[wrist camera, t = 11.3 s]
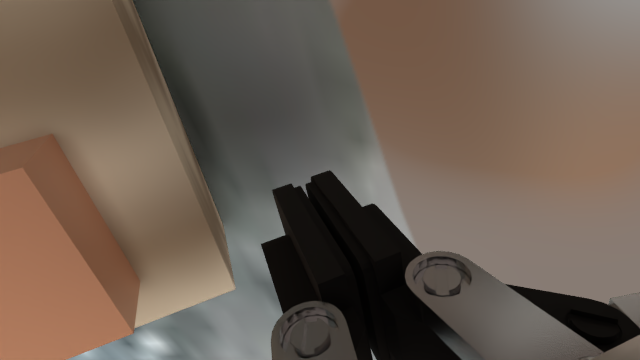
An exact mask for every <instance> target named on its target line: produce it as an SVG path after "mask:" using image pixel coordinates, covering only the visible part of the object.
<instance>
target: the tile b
mask: <svg viewBox="0 0 640 360" xmlns="http://www.w3.org/2000/svg"><path fill="white" fill-rule="evenodd" d="M139 288H140V280H139V278H138V276H137V275H136V273H135V271H134V270H133V268H132V266H131V265H130V263H129V261H128V260H127V258H126V256H125V255H124V253H123V251H122V250H121V248H120V246H119V245H118V243H117V241H116V240H115V238H114V236H113V234H112V233H111V231H110V229H109V228H108V226H107V224H106V223H105V221H104V219H103V218H102V216H101V214H100V213H99V211H98V209H97V208H96V206H95V204H94V203H93V201H92V199H91V198H90V196H89V194H88V193H87V191H86V189H85V188H84V186H83V184H82V182H81V181H80V179H79V177H78V176H77V174H76V172H75V171H74V169H73V167H72V166H71V164H70V162H69V161H68V159H67V157H66V156H65V154H64V152H63V151H62V149H61V147H60V146H59V144H58V142H57V141H56V139H55V137H54V135H53V134H49V135H46V136H42V137H38V138H35V139H31V140H28V141H24V142H21V143H17V144H13V145H10V146H6V147H3V148H0V360H66V359H69V358H71V357H74V356H76V355H79V354H81V353H84V352H87V351H89V350H92V349H94V348H97V347H99V346H102V345H105V344H107V343H110V342H112V341H115V340H118V339H120V338H123V337H125V336H128V335H130V334H133V333H134V327H135V319H136V312H137V304H138V296H139Z"/></svg>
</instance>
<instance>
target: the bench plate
mask: <svg viewBox="0 0 640 360" xmlns="http://www.w3.org/2000/svg"><path fill="white" fill-rule="evenodd" d="M49 134H53V135H54V137H55V139H56V141H57V142H58V144H59V146H60V147H61V149H62V151H63V152H64V154H65V156H66V157H67V159H68V161H69V162H70V164H71V166H72V167H73V169H74V171H75V172H76V174H77V176H78V177H79V179H80V181H81V182H82V184H83V186H84V188H85V189H86V191H87V193H88V194H89V196H90V198H91V199H92V201H93V203H94V204H95V206H96V208H97V209H98V211H99V213H100V214H101V216H102V218H103V219H104V221H105V223H106V224H107V226H108V228H109V229H110V231H111V233H112V234H113V236H114V238H115V240H116V241H117V243H118V245H119V246H120V248H121V250H122V251H123V253H124V255H125V256H126V258H127V260H128V261H129V263H130V265H131V266H132V268H133V270H134V271H135V273H136V275H137V276H138V278H139V280H140V288H139V296H138V304H137V312H136V319H135V327H134V328H136V327H139V326H141V325H144V324H147V323H149V322H152V321H154V320H157V319H159V318H162V317H165V316H167V315H170V314H172V313H175V312H178V311H180V310H183V309H185V308H188V307H191V306H193V305H196V304H198V303H201V302H204V301H206V300H209V299H211V298H214V297H216V296H219V295H222V294H224V293H227V292H229V291H232V290H235V289H236V288H235V283H234V278H233V273H232V268H231V262H230V257H229V252H228V247H227V242H226V237H225V232H224V226H223V223H222V221H221V218H220V216H219V213H218V211H217V208H216V206H215V203H214V201H213V199H212V196H211V194H210V191H209V189H208V186H207V184H206V181H205V179H204V176H203V174H202V171H201V169H200V166H199V164H198V161H197V159H196V156H195V154H194V151H193V149H192V146H191V144H190V141H189V139H188V137H187V134H186V132H185V129H184V127H183V124H182V122H181V119H180V117H179V114H178V112H177V109H176V107H175V104H174V102H173V99H172V97H171V94H170V92H169V89H168V87H167V84H166V82H165V80H164V77H163V75H162V72H161V70H160V67H159V65H158V62H157V60H156V57H155V55H154V52H153V50H152V47H151V45H150V42H149V40H148V37H147V35H146V32H145V30H144V27H143V25H142V23H141V20H140V18H139V15H138V13H137V10H136V8H135V5H134V3H133V0H0V148H3V147H6V146H10V145H13V144H17V143H21V142H24V141H28V140H31V139H35V138H38V137H42V136H46V135H49Z"/></svg>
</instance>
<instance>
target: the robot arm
mask: <svg viewBox="0 0 640 360" xmlns="http://www.w3.org/2000/svg"><path fill="white" fill-rule="evenodd" d="M306 190H307V194H308V197H307V195H306V194H305V192H304V191H303V189H302V187H301V186H298V187H295V188H294V187H293V185H292V184H288V185H285V186H282V187H279V188H276V189H273V190H272V191H273V195H274V199H275V202H276V205H277V208H278V212H279V215H280V218H281V221H282V225H283V228H284V231H285V234H286V235H285V236H282V237H279V238H276V239H274V240H271V241H268V242H265V243H263V244H261V246H262V249H263V252H264V255H265V258H266V261H267V264H268V268H269V271H270V274H271V277H272V280H273V283H274V286H275V289H276V293H277V296H278V299H279V302H280V305H281V308H282V311H283V315H282V316H281V317H280V318H279V320H278V321H277V322H276V324H275V326H274V328H273V331H272V337H271V350H272V360H373V359H372V354H371V350H372V352H373V354H374V355H375V357H376V359H377V360H640V292H639V293H635V294H629V295H624V296H619V297H615V298H610V301H609V304H608V305H607V304H605V303H602V302H599V301H595V300H592V299H587V298H582V297H576V296H570V295H564V294H558V293H553V292H547V291H542V290H536V289H530V288H524V287H518V286H513V285H507V284H504V283H502V282H501V281H499V280H498V279H496V278H495V277H494V276H492V275H491V274H489V273H488V272H486V271H485V270H483V269H482V268H481V267H479V266H477V265H476V264H475V263H473V262H472V261H470V260H469V259H467V258H465V257H463V256H461V255H459V254H456V253H452V252H445V251H436V252H429V253H425V254H423V255H422V254H421V252H420V251H419V250H418V249H417V248H416V247H415V246H414V245H413V244H412V243H411V242H410V241H409V240H408V239H407V238H406V236H405V235H404V234H403V233H402V232H401V231H400V230H399V229H398V228H397V227H396V226H395V225H394V224H393V223H392V222H391V221H390V219H389V218H388V217H387V216H386V215H385V214H384V213H383V212H382V211H381V210H380V209H379V208H378V207H377V206H376V205H375V204H369V205H367V206H364V207H362V206H361V205H360V204H359V203H358V202H357V200H356V199H355V198H354V197H353V196H352V195H351V194H350V192H349V191H348V190H347V189H346V188H345V187H344V185H343V184H342V183H341V182H340V181H339V180H338V179H337V177H336V176H335V175H334V174H333V173H332V172H331V171H326V172H324V173H321V174H318V175H315V176H312V177H311V182H310V183H307V184H306ZM370 348H371V349H370Z"/></svg>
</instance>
